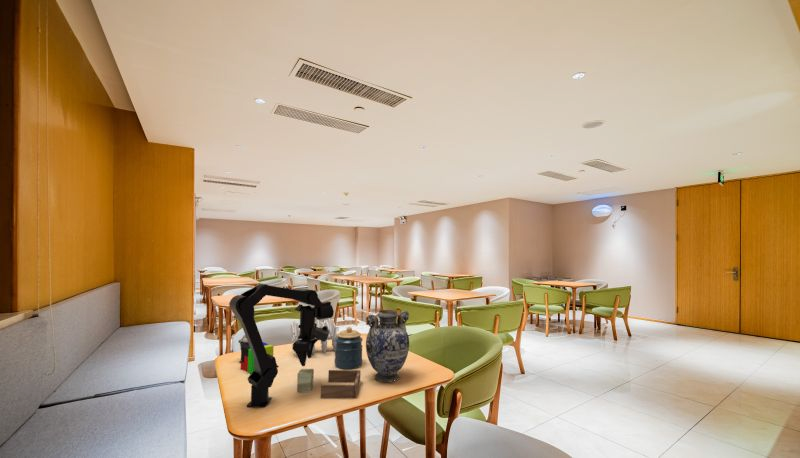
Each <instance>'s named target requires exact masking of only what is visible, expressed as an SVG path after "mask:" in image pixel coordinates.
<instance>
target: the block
mask: <svg viewBox="0 0 800 458" xmlns="http://www.w3.org/2000/svg"><path fill="white" fill-rule="evenodd" d="M314 373H315V369H314V368H300V370H299V371H298V372H297V379H296V380H297V382H296V384H297V385H296V392H297V393H311V392H312V390H313V388H314V376H315V375H314Z"/></svg>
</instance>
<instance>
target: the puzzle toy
mask: <svg viewBox="0 0 800 458" xmlns="http://www.w3.org/2000/svg"><path fill="white" fill-rule="evenodd" d="M262 342H263V344H264V347H265V350H266V352H267V354H270V355H272V356H274V345H272V344H270V343H267V342H264V341H262ZM240 361H241V363H240V370H243V371H244V372H245V373H248V374H250V375H251V374H252V372H253V371H254V356H253V354H252V351H251V349H250V346H249V345H246V346H241V347H240Z"/></svg>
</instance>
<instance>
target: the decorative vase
mask: <svg viewBox="0 0 800 458" xmlns="http://www.w3.org/2000/svg"><path fill="white" fill-rule="evenodd" d="M409 316H410V313H409V311H408V310H402V311H401V312H400V313H398V311H397V310H393V309H382V310H379V311H378V313H377V314H376V315H374V314H369V315H367V316H366V317H365V321H366V322H365V325H366V326H368V327H370V328H369V329H368V333H367V334H366V339H365V350H366V351H365V352H366V356H367V359H368V361H369V364H370V366H371V367H372V368H373V370H374V371H375V372H377V373H375V376H374V379H375V380H376V381H378V382H380V381H381V383H391V382H390V381H393V382H395V381H394V380H397V379H398V378H399V376H400V374H399V373H398V372H399V371H400V370H401V369H402V368H403V366H404V365H405V362H406V360H407V358H408V355H409V350H410V337H409V334H408V332H407V327H406V326H407V325H406V323H407V321H408V320H409V319H410V318H409ZM399 379H400V378H399ZM399 379H398V380H399ZM398 380H397V381H398Z"/></svg>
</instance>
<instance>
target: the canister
mask: <svg viewBox="0 0 800 458" xmlns="http://www.w3.org/2000/svg"><path fill="white" fill-rule="evenodd" d="M361 335H362V333H361V332H359V331H358V330H356V329H353V328H352V327H351V326H348V327H346V329H345V330H341V331H340V333H338V334H337V336H338V338H336V339H335V341H336V346H335V350H334V366H335V368H337V369H339V370H341V369H342V370H355V369H358V368H360V367H361V366H362V365H363V364H362V363H363V344H362V342H363V337H361Z"/></svg>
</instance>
